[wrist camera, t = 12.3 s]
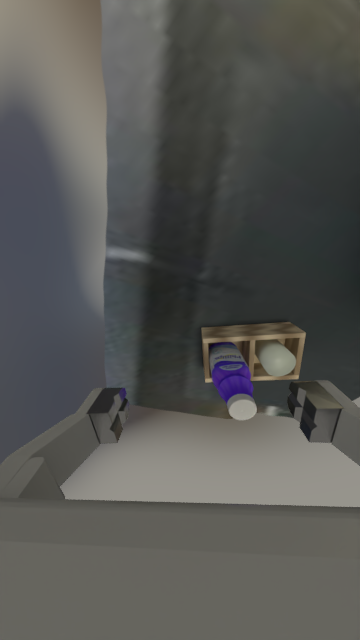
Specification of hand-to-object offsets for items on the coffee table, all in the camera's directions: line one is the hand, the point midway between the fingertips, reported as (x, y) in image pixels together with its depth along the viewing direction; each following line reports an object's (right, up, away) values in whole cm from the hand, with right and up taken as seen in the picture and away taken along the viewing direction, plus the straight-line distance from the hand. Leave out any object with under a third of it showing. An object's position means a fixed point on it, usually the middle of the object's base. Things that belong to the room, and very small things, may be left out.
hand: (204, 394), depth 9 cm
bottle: (+9, -4, +33) cm, 34 cm away
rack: (+14, -3, +33) cm, 36 cm away
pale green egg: (+19, -3, +32) cm, 37 cm away
